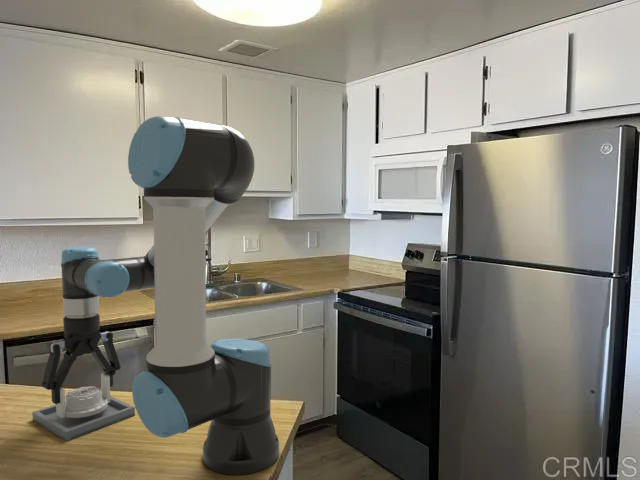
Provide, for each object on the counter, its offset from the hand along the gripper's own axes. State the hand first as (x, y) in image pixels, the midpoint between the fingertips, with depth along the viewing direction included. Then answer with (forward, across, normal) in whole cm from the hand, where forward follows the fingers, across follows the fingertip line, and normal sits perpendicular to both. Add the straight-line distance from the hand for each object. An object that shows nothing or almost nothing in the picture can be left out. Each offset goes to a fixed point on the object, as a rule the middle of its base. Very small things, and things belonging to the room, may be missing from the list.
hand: (84, 408), depth 113 cm
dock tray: (+2, 0, 0) cm, 2 cm away
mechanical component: (+1, 0, 0) cm, 1 cm away
